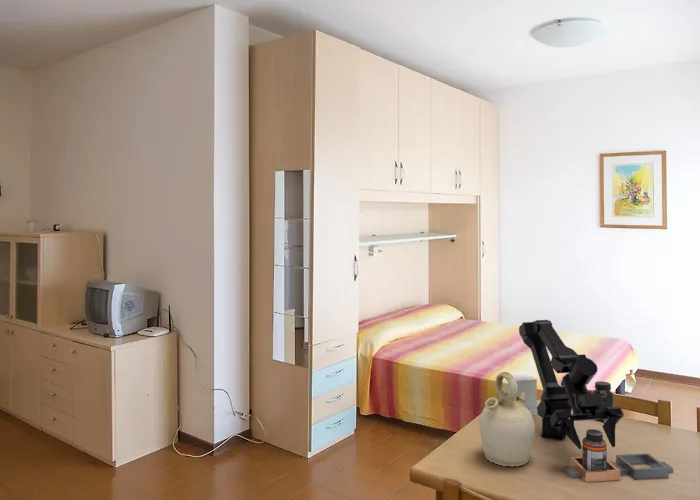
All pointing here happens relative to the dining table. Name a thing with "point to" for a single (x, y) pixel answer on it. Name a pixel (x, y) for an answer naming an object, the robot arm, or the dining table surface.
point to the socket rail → (620, 468)
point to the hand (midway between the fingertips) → (597, 447)
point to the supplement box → (527, 391)
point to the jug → (507, 426)
